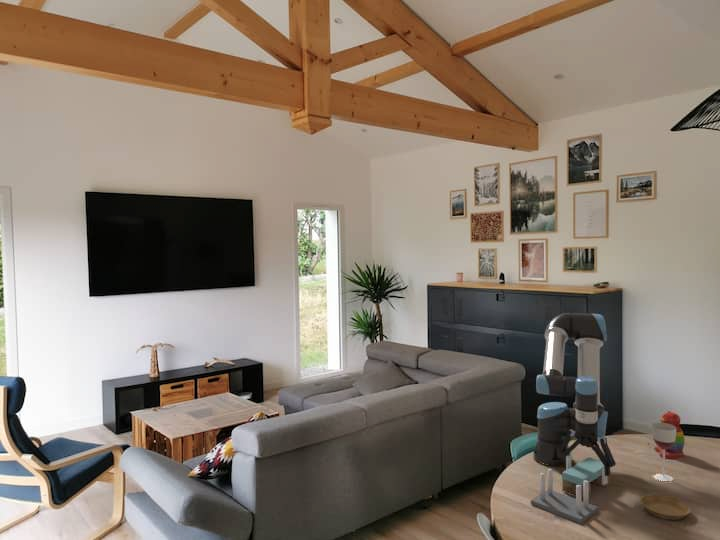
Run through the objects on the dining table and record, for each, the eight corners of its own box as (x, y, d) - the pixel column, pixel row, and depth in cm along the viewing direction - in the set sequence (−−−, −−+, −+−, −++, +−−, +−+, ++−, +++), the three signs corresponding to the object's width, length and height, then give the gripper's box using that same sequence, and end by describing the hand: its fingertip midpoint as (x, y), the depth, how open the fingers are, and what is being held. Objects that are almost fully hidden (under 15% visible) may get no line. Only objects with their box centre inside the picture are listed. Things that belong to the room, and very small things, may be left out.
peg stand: (530, 504, 188) (530, 474, 187) (548, 493, 196) (548, 464, 195) (580, 523, 174) (580, 491, 174) (598, 511, 182) (598, 480, 182)
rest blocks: (562, 491, 197) (562, 477, 197) (586, 476, 209) (586, 464, 209) (586, 499, 190) (586, 485, 190) (609, 484, 202) (609, 471, 202)
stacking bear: (653, 448, 236) (653, 408, 235) (678, 449, 234) (679, 409, 233) (661, 458, 225) (662, 416, 224) (688, 459, 223) (689, 417, 222)
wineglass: (674, 475, 209) (675, 424, 208) (677, 484, 201) (677, 431, 200) (651, 471, 212) (651, 421, 211) (652, 480, 204) (653, 428, 203)
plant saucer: (641, 498, 191) (641, 490, 191) (690, 507, 184) (690, 500, 184) (638, 516, 179) (638, 508, 179) (691, 527, 171) (691, 519, 171)
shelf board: (583, 486, 190) (583, 479, 190) (562, 479, 196) (562, 472, 196) (609, 469, 203) (609, 463, 203) (588, 463, 209) (588, 457, 209)
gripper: (549, 415, 205) (549, 470, 206) (616, 431, 187) (616, 492, 187) (559, 411, 210) (559, 465, 211) (625, 426, 192) (625, 485, 192)
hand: (586, 478), depth 199 cm, fingers open, 13 cm apart
